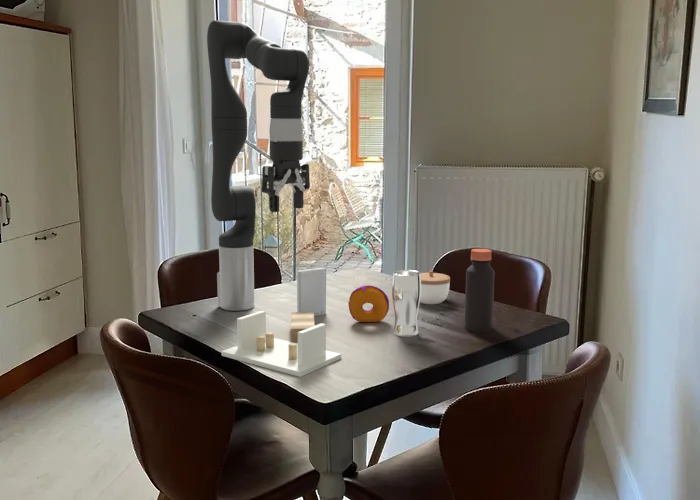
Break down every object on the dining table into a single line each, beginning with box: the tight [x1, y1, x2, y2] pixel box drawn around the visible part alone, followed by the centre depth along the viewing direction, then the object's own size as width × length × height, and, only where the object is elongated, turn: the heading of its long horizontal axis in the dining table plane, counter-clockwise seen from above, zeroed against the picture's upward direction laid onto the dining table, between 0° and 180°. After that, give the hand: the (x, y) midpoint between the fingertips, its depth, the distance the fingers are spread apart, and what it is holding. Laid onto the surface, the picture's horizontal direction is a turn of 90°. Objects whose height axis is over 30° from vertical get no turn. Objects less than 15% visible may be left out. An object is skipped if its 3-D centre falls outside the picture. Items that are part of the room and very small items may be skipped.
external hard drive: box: [296, 267, 327, 317], centre depth 184 cm, size 2×8×12 cm, turn 123°
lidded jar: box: [420, 270, 451, 305], centre depth 198 cm, size 11×11×9 cm
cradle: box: [221, 310, 342, 378], centre depth 152 cm, size 22×14×8 cm, turn 55°
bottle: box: [463, 248, 496, 334], centre depth 171 cm, size 7×7×20 cm
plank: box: [290, 311, 316, 343], centre depth 168 cm, size 14×6×4 cm, turn 4°
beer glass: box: [391, 269, 422, 338], centre depth 169 cm, size 7×7×15 cm
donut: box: [348, 284, 390, 323], centre depth 178 cm, size 8×9×10 cm
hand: (286, 210), depth 162 cm, fingers open, 8 cm apart
